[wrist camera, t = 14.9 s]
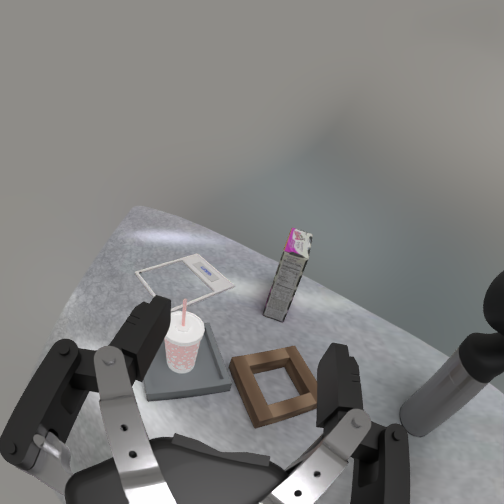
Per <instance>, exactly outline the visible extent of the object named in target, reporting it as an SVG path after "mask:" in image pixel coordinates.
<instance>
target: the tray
mask: <svg viewBox="0 0 504 504" xmlns="http://www.w3.org/2000/svg"><path fill="white" fill-rule="evenodd" d="M204 329H205V331H204V335H203V337H202V339H201V340H200V344H199V349H198V353H197V357H196V361H195V365H194V367H193V369H192V370H191V371H190V372H187V373H177V372H174V371H172V370H171V369H170V368H169V366H168V364H167V358H166V350H165V341H164V340H163V342H162V344H161V346H160V348H159V350H158V352H157V354H156V356H155V357H154V359H153V361H152V363H151V365H150V367H149V369H148V371H147V373H146V375H145V377H144V383H145V389H146V394H147V400H148V401H159V400H169V399H178V398H186V397H194V396H201V395H207V394H213V393H219V392H225V391H230V388H231V385H232V382H231V379H230V377H229V374H228V372H227V369H226V366H225V364H224V361H223V359H222V356H221V353H220V351H219V348H218V345H217V343H216V340H215V337H214V334H213V332H212V329H211V326H210V323H204Z"/></svg>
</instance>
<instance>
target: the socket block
mask: <svg viewBox="0 0 504 504" xmlns="http://www.w3.org/2000/svg"><path fill="white" fill-rule="evenodd" d="M282 367H285V369H286V371H287V372H288V374H289V376H290V378H291V380H292V381H293V383H294V385H295V387H296V388H297V390H298V392H299V394H300V396H298V397H294V398H291V399H288V400H285V401H281V402H278V403H274V404H271V405H267V403H266V401H265V399H264V396H263V394H262V392H261V390H260V388H259V386H258V384H257V382H256V380H255V377H254V375H253V374H255V373H260V372H265V371H269V370H273V369H278V368H282ZM229 369H230V371H231V374H232V376H233V379H234V381H235V384H236V386H237V389H238V391H239V393H240V396H241V398H242V400H243V403H244V405H245V407H246V410H247V412H248V414H249V417H250V419H251V421H252V423H253V426H254V428H258V427H262V426H265V425H269V424H272V423H275V422H279V421H282V420H285V419H288V418H291V417H294V416H297V415H300V414H303V413H305V412H308V411H311V410H313V409H316V408H317V381H316V379H315V378H314V376H313V375H312V373H311V371H310V370H309V368H308V366H307V365H306V363H305V361H304V360H303V358H302V357H301V355H300V353H299V352H298V350H297V348H296V347H295V346H291V347H286V348H281V349H276V350H271V351H266V352H261V353H255V354H249V355H244V356H237V357H232V359H231V362H230V365H229Z"/></svg>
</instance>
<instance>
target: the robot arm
mask: <svg viewBox="0 0 504 504" xmlns="http://www.w3.org/2000/svg"><path fill="white" fill-rule="evenodd" d="M483 312H484V316H485V319H486V321H487V322H488V324H489V325H490V326H491V327H492V328H493V329H495V330H496V331H497V332H498V333H493V334H483V333H472V334H470V335H469V336H467V338H466V339H465V340H464V341H463V342H462V343H461V345H460V346H459V347H458V348H457V350H456V351H455V352H454V353H453V354H452V355H451V357H450V358H449V359H448V360H447V361H446V362H445V363H444V364H443V366H442V367H441V368H440V369H439V370H438V371H437V372H436V373H435V374H434V375H433V376H432V377H431V378H430V379H429V380H428V381H427V382H426V383H425V384H424V385H423V386H422V387H421V388H420V389H419V390H418V391H417V392H416V393H415V394H413V395H412V396H411V397H410V398H409V399H408V400H407V401H406V402H405V403H404V404H403V405H402V407H401V411H400V418H401V421H402V424H403V426H404V427H403V426H402V425H400V424H391V425H389V426H388V427H384V426H382V425H379V424H376V423H374V422H372V421H371V419H370V417H369V415H368V414H367V413H366V412H365V411H364V410H363V401H362V391H361V383H360V376H359V375H360V374H359V366H358V364H357V362H356V360H355V358H354V357H350V356H349V352H348V346H347V345H343V344H337V343H331V345H330V346H329V348H328V349H327V351H326V352H325V354H324V355H323V357H322V359H321V360H320V362H319V365H318V369H317V421H316V427H320V428H324V433H323V434H322V435H321V436H320V437H319V438H318V439H317V440H316V441H315V442H314V443H313V444H312V445H311V446H310V447H309V448H308V449H307V450H306V451H305V452H304V453H303V454H302V455H301V456H300V457H299V458H298V459H297V460H296V461H294V462H293V463H292V464H291V465H289V466H288V467H287V468H286V469H285V470H283V469H282V468H281V467H280V466H278V465H276V464H275V463H273V462H271V461H270V456H266V455H259V454H254V453H248V452H219V451H217V450H215V449H213V448H211V447H209V446H208V445H206V444H204V443H202V442H200V441H198V440H195V439H192V438H188V437H185V436H182V435H179V434H176V433H175V434H174V437H160V438H154V439H151V440H149V438H148V435H147V432H146V430H145V427H144V424H143V421H142V418H141V415H140V412H139V409H138V406H137V402H136V399H135V396H134V392H133V388H132V386H133V384H134V382H135V380H138V381H140V382H142V381H143V379H144V377H145V375H146V373H147V371H148V369H149V367H150V365H151V363H152V361H153V359H154V357H155V356H156V354H157V352H158V350H159V348H160V346H161V344H162V342H163V340H164V338H165V336H166V334H167V332H168V330H169V327H170V323H171V300H170V299H167V298H164V297H161V296H158V295H155V296H154V298H153V299H152V301H151V302H150V304H149V303H146V302H142V303H141V304H139V305H138V306H136V307H135V308H134V310H133V311H132V312H131V314H130V316H129V317H128V318H127V320H126V322H125V323H124V324H123V325H122V327H121V328H120V330H119V331H118V333H117V334H116V336H115V337H114V339H113V340H112V342H111V343H110V344H109V345H108V346H104V347H102V348H100V349H98V350H96V351H94V350H87V349H80V348H78V346H77V345H76V343H75V342H74V341H72V340H70V339H61V340H59V341H57V342H56V343H55V344H54V345H53V346H52V348H51V349H50V351H49V352H48V354H47V355H46V357H45V358H44V360H43V361H42V363H41V365H40V366H39V368H38V369H37V371H36V373H35V374H34V376H33V377H32V379H31V381H30V382H29V384H28V386H27V388H26V389H25V391H24V393H23V395H22V396H21V398H20V400H19V402H18V404H17V406H16V407H15V409H14V411H13V413H12V415H11V417H10V419H9V421H8V423H7V425H6V427H5V429H4V431H3V433H2V435H1V437H0V453H1V455H2V456H3V458H4V459H5V460H6V461H7V462H9V463H10V464H12V465H14V466H16V467H17V468H18V469H20V470H22V471H24V472H26V473H28V474H30V475H33V476H34V477H36V478H37V479H39V480H40V481H41V482H43V483H45V484H46V485H48V486H49V487H51V488H52V489H54V490H56V491H57V492H59V493H60V494H62V495H64V496H65V500H66V504H313V503H314V502H315V501H316V500H317V499H318V498H319V497H320V496H321V495H322V494H323V493H324V492H325V491H326V489H327V488H328V487H329V486H330V485H331V484H332V483H333V482H334V480H335V479H336V478H337V477H338V476H339V475H340V473H341V472H342V471H343V470H344V469H345V467H346V466H347V464H348V461H347V460H348V458H349V457H353V458H354V469H353V482H352V493H351V503H350V504H410V462H409V444H408V434H407V431H408V432H409V433H410V434H412V435H414V436H425V435H427V434H428V433H430V432H431V431H433V430H434V429H435V428H437V427H438V426H439V425H441V424H442V423H443V422H445V421H446V420H447V419H449V418H450V417H451V416H452V415H454V414H455V413H456V412H457V411H459V410H460V409H461V408H462V407H463V406H464V405H466V404H467V403H468V402H469V401H470V400H471V399H472V398H473V397H475V396H476V395H477V394H478V393H479V392H480V391H481V390H482V389H483V388H484V387H485V386H486V385H487V384H488V383H489V382H490V381H491V380H492V379H493V378H494V377H496V376H498V375H500V374H501V373H503V372H504V271H503V272H501V273H500V274H499V275H498V276H497V277H496V278H495V279H494V280H493V282H492V283H491V285H490V286H489V288H488V290H487V292H486V295H485V298H484V304H483ZM89 391H92V392H99V394H100V400H99V404H100V410H101V414H102V418H103V422H104V426H105V430H106V434H107V438H108V441H109V445H110V448H111V451H112V454H113V457H112V458H110V459H108V460H106V461H103V462H101V463H99V464H96V465H94V466H92V467H89V468H87V469H84V470H82V471H79V472H77V473H75V474H73V473H72V471H71V468H70V459H71V453H70V450H69V448H68V447H67V445H66V444H65V443H66V440H67V438H68V436H69V433H70V431H71V429H72V427H73V424H74V422H75V420H76V418H77V416H78V414H79V411H80V409H81V407H82V405H83V403H84V401H85V399H86V397H87V395H88V393H89ZM406 430H407V431H406Z"/></svg>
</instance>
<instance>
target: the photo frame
mask: <svg viewBox="0 0 504 504" xmlns="http://www.w3.org/2000/svg"><path fill="white" fill-rule="evenodd" d="M181 261H182V262H183V263H184V264H185V265H186V266H187V267H188V268H189V269H190V270H191V271H192V272H193V273H194V274H195V275H196V276H197V277H199V278H200V279H201V280H202V281H203V282H204V283H205V284H206V285H207V286H208V287H209V288H210V289H211V290H212V291H213V292H212V293H209V294H207V295H204V296H202V297H200V298H197V299H195V300H192V301H190V302H187V306H186V307H188V306H190V305H193V304H195V303H198V302H200V301H202V300H205V299H207V298H210V297H212V296H215V295H217V294H219V293H222V292H224V291H226V290H229V289H231V288H233V287H235V285H234V284H233V283H232V282H230V281H229V280H228V279H227V278H226V277H225V276H223V275H222V274H221V273H220V272H219V271H218V270H216V269H215V268H214V267H213V266H212V265H211V264H209V263H208V262H207V261H206V260H205V259H204V258H203V257H201V256H200V255H199V254H198V253H197V254H194V255H190V256H187V257H184V258H180V259H177V260H173V261H170V262H166V263H163V264H160V265H156V266H153V267H149V268H146V269H143V270H139V271H136V272H135V275H136V276H137V277H138V279H139V280H140V281H141V283H142V284H143V285H144V287H145V288H146V289H147V291H148V292H149V293H150V295H151V296H152V297H153V298H154V296H155V293H154V292H153V291H152V290H151V288H150V287H149V286H148V284H147V283H146V282H145V281H144V279H143V278H142V277H141V275H140V274H139V272H142V273H145V272H148V271H151V270H155V269H158V268H161V267H165V266H168V265H171V264H174V263H178V262H181ZM181 309H183V304H182V305H180V306H177V307H174V308H172V309H171V313H172V312H176V311H178V310H181Z"/></svg>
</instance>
